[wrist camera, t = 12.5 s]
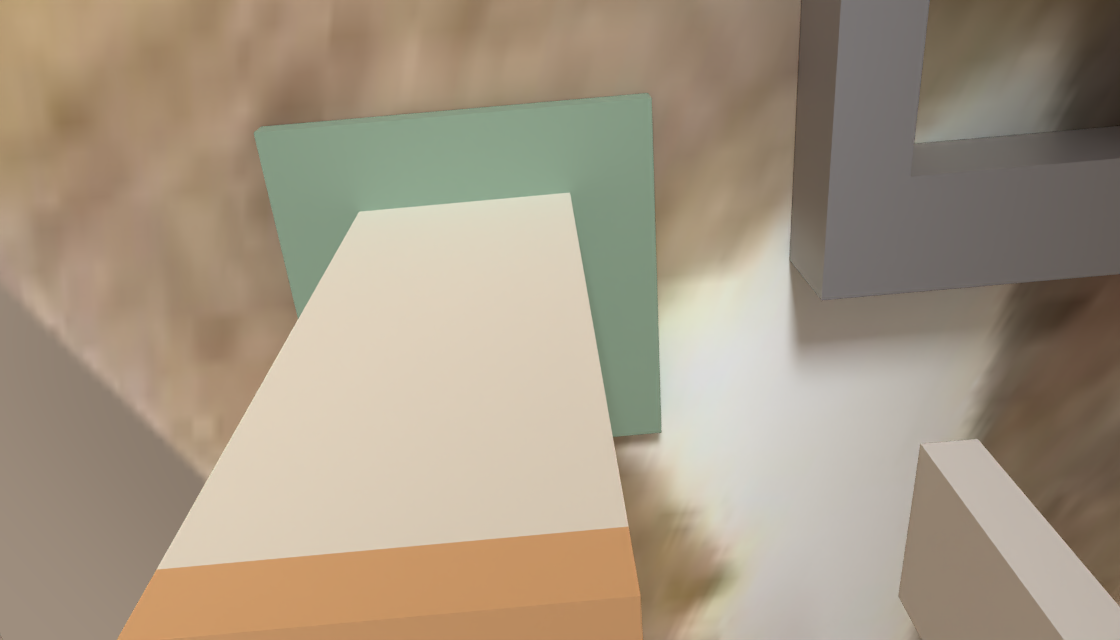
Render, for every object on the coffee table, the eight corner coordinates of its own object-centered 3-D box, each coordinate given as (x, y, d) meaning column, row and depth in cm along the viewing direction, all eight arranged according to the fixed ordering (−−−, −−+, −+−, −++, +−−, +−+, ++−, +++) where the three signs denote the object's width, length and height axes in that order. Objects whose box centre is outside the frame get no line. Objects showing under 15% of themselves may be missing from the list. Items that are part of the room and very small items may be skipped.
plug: (359, 211, 20) (114, 644, 8) (570, 192, 20) (640, 596, 8) (394, 393, 22) (244, 945, 10) (584, 376, 22) (656, 905, 10)
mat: (261, 126, 19) (253, 132, 19) (648, 93, 19) (651, 97, 19) (336, 448, 23) (332, 461, 23) (658, 420, 23) (661, 432, 23)
